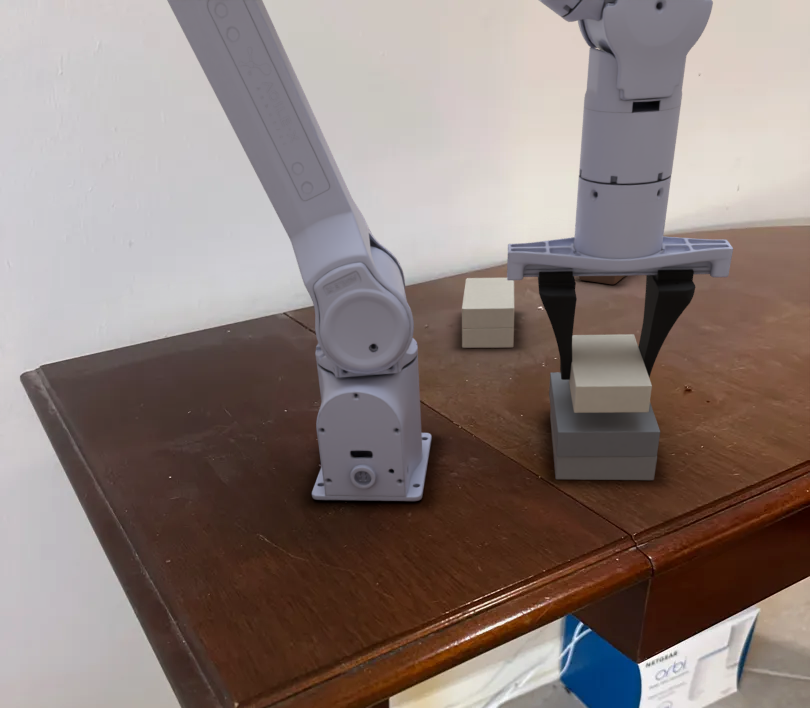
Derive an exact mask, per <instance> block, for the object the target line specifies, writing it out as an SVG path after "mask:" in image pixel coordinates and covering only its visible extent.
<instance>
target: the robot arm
mask: <svg viewBox="0 0 810 708" xmlns="http://www.w3.org/2000/svg"><path fill="white" fill-rule="evenodd" d="M538 1H539V2H540V3H541V4H543V5H544V6H545V7H547V8H548V9H549V10H551V11H552V12H553V13H554V14H556V15H558V16H559V17H561V18H562V19H563V20H564V21H565V22H568V23H573V22H577V24H578V29H579V32H580V33H581V36H582V38H583V40H584V42H585V44H587V46H588V47H589V49H588V50H589V51H588V64H587V65H588V66H587V80H586V90H585V93H584V97H583V98H584V99H583V113H582V127H581V128H582V129H581V141H580V154H579V169H578V180H577V181H578V183H577V184H578V185H577V197H576V207H575V208H576V209H575V210H576V211H575V223H574V226H575V227H574V237H573V236H572V237H566V238H565V237H564V238H557V239H550V240H549V239H548V240H540V241H533V242H521V243H519V242H518V243H508V244H507V264H506V267H507V268H506V278H507V280H514V281H522V280H523V279H524V278H537V284H538V285H537V287H538V294H539V297H540V300H541V303H542V306H543V308H544V310H545V313H546V314H547V317H548V320H549V322H550V325H551V328H552V331H553V335H554V338H555V342H556V345H557V349H558V354H559V368H560V369H559V371H560V372H561V379H562V380H570V374H571V363H572V336H573V335H574V325H575V316H576V306H577V301H578V300H577V299H578V298H577V293H576V292H577V291H576V285H577V283H576V279H575V277H579V276H624V275H626V276H646V279H645V295H644V306H643V307H644V309H643V319H642V325H641V331H640V338H639V342H638V347H639V350H640V353H641V356H642V359H643V362H644V364H645V367H646V370H647V373H648V376H649V379H651V374H652V371H653V368H654V365H655V363H656V360H657V358H658V355H659V353H660V351H661V348H662V347H663V344H664V342H665V340H666V339H667V337H668V335H669V333H670V332H671V330H672V328H673V327H674V325H675V324H676V322H677V321H678V319H679V318H680V316H681V315H682V314H683V313H684V311H685V310H686V309H687V307H688V306H689V305H690V304H691V302H692V300H693V297H694V295H695V292H696V284H695V282H694V275H709V276H710V277H712V278H728V277H729V275H730V269H731V263H732V260H733V259H732V258H733V252H734V248H733V246H732V245H731V243H730V241H728V239H708V238H694V237H693V238H690V237H680V236H679V237H677V236H666V235H665V236H664V234H665V227H666V219H667V213H668V212H667V211H668V206H669V205H668V204H669V197H670V189H671V182H672V174H673V168H674V167H673V166H674V159H675V154H676V153H675V152H676V144H677V138H678V137H677V136H678V130H679V123H680V114H681V107H682V100H683V84H684V76H685V69H686V63H687V56H688V54H689V52H690V51H691V50H692V49H693V47H694V46H695V45H696V43H697V42H698V41H699V39H700V38H701V37H702V35H703V33H704V31H705V29H706V28H707V24H708V23H709V20H710V17H711V13H712V10H713V4H714V2H713V0H538ZM166 2H167V3H168V4H169V7H170V9H171V11H172V13H173V14H174V16H175V18H176V20H177V22H178V25H179V27H180V28H181V31H182V32H183V33H184V35H185V38H186V40H187V42H188V44H189V45H190V48H191V50H192V52H193V53H194V55H195V58H196V59H197V61H198V63H199V65H200V67H201V69H202V71H203V73H204V75H205V77H206V79H207V81H208V83H209V85H210V86H211V88H212V90H213V93H214V94H215V96H216V98H217V100H218V102H219V104H220V106H221V108H222V110H223V112H224V114H225V116H226V117H227V120H228V122H229V123H230V126H231V127H232V130H233V132H234V133H235V135H236V137H237V139H238V141H239V143H240V145H241V147H242V149H243V152H244V153H245V154H246V157H247V159H248V160H249V163H250V165H251V167H252V168H253V171H254V172H255V174H256V176H257V178H258V180H259V182H260V184H261V186H262V188H263V190H264V191H265V194H266V196H267V198H268V199H269V201H270V204H271V205H272V207H273V209H274V211H275V214H276V215H277V217H278V219H279V221H280V223H281V225H282V228H283V229H284V231H285V233H286V234H287V236H288V238H289V241H290V243H291V247H292V250H293V253H294V257H295V259H296V264H297V267H298V270H299V274H300V276H301V279H302V282H303V285H304V287H305V289H306V291H307V293H308V294H309V296H310V299H311V302H312V304H313V308H314V314H315V315H314V316H315V318H314V319H315V321H314V322H315V323H314V328H315V329H314V332H315V337H316V340H317V344H316V346H315V353H314V355H315V361H316V370H317V376H318V384H319V385H318V386H319V392H320V401H321V403H320V407H319V409H318V413H317V416H316V421H315V422H316V423H315V424H316V425H315V426H316V428H315V429H316V435H317V436H316V437H317V443H318V452H319V459H320V468H319V471H318V474H317V477H316V480H315V483H314V484H313V488H312V491H311V497H312V499H313V500H316V501H360V502H361V501H362V502H363V501H367V502H368V501H370V502H373V501H374V502H379V501H380V502H418V501H420V500H422V498H423V494H424V488H425V483H426V476H427V471H428V463H429V457H430V453H431V452H430V451H431V446H432V440H433V439H432V438H433V437H432V434H431V433H429V432H422V413H421V412H422V411H421V391H420V390H421V389H420V372H419V371H420V369H419V348H418V347H419V346H418V342H417V340H416V339H415V338H414V331H415V322H414V315H413V312H412V309H411V308H412V307H410V305H409V303H408V298H407V294H406V279H405V273H404V270H403V268H402V265H401V263H400V261H399V260H398V258H397V257H396V255H395V254H393V253H392V251H391V250H390V249H388V248H387V247H385V246H384V245H383V244H382V243H380V242H379V241H378V240H377V238H376V237H375V236H374V234H373V233H372V231H371V229H370V227H369V225H368V222H367V220H366V219H365V217H364V215H363V213H362V212H361V210H360V208H359V207H358V205H357V204H356V202H355V200H354V198H353V197H352V194H351V192H350V190H349V188H348V186H347V184H346V182H345V179H344V177H343V174H342V173H341V170H340V168H339V166H338V164H337V162H336V160H335V157H334V154H333V153H332V151H331V148H330V146H329V144H328V142H327V139H326V138H325V137H326V136H324V133H323V131H322V129H321V126H320V123H319V122H318V119H317V118H316V115H315V113H314V111H313V108H312V107H311V105H310V103H309V100H308V98H307V96H306V93H305V91H304V89H303V87H302V85H301V83H300V80H299V77H298V76H297V74H296V71H295V69H294V67H293V65H292V62H291V60H290V59H289V58H290V57H289V55H288V54H287V52H286V49H285V48H284V45H283V43H282V40H281V39H280V36H279V33H278V32H277V29H276V27H275V25H274V23H273V21H272V19H271V16H270V14H269V12H268V10H267V8H266V5H265V2H264V1H263V0H166ZM624 277H625V276H624Z"/></svg>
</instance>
